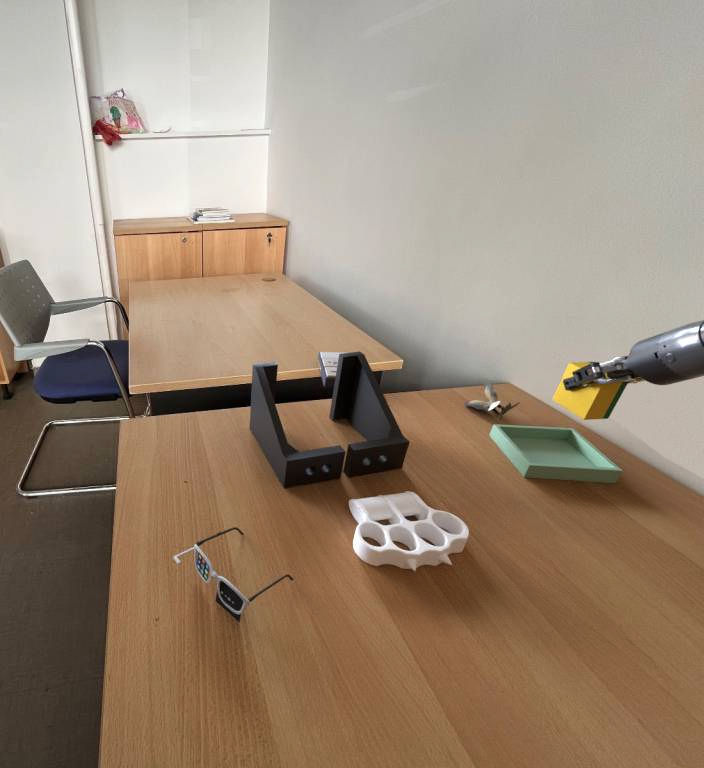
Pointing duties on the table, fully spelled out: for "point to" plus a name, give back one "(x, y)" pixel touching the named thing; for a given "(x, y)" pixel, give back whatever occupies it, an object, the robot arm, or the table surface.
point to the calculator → (328, 367)
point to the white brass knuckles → (405, 531)
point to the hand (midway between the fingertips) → (579, 384)
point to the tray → (554, 454)
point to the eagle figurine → (490, 402)
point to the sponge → (589, 396)
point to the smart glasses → (223, 580)
